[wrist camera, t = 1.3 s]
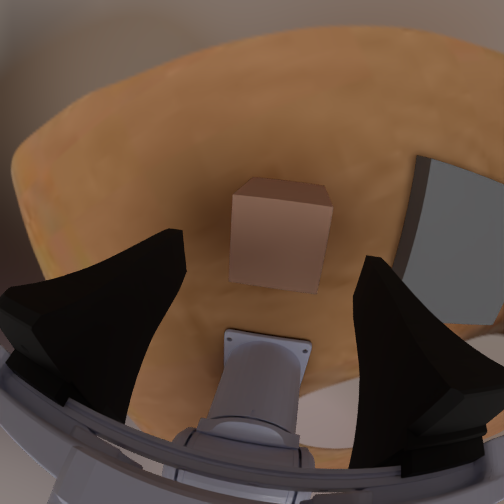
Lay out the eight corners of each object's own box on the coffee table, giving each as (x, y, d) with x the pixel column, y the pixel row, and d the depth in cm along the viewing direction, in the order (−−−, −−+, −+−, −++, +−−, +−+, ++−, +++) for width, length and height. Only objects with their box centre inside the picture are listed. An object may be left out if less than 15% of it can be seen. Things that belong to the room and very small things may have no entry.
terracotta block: (314, 251, 21) (316, 294, 15) (248, 242, 21) (228, 281, 16) (324, 185, 18) (333, 207, 13) (253, 176, 19) (232, 194, 14)
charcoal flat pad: (479, 307, 20) (492, 324, 17) (380, 297, 22) (388, 318, 19) (517, 191, 15) (537, 200, 12) (414, 154, 17) (431, 158, 14)
